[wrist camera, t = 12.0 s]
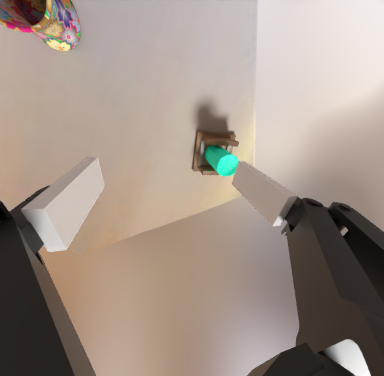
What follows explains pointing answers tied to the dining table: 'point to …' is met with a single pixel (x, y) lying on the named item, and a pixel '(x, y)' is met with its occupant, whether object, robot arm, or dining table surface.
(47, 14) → the mug
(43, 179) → the dining table surface
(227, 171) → the candle
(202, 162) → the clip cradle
